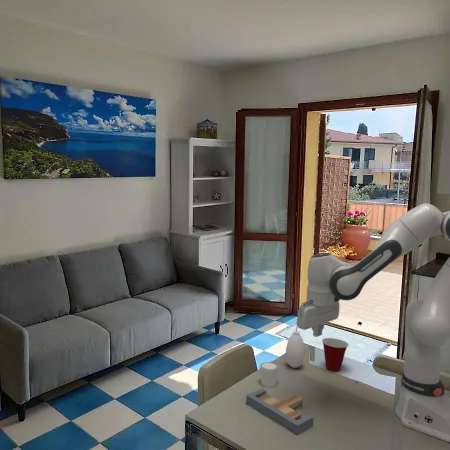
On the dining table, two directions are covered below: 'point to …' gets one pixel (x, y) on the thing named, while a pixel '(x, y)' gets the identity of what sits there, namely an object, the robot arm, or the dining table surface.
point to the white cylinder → (268, 374)
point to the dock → (278, 413)
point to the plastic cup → (334, 353)
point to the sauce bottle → (295, 350)
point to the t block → (285, 404)
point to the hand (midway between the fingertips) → (317, 335)
